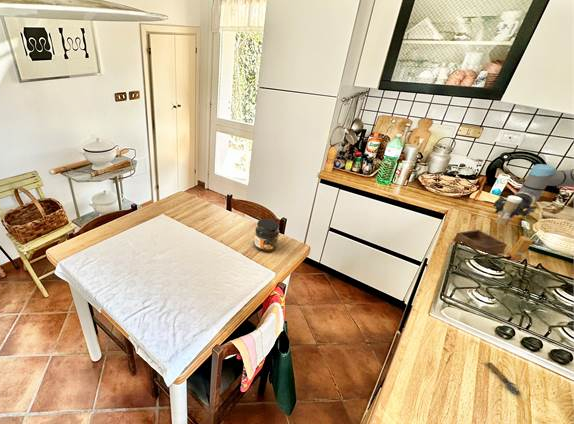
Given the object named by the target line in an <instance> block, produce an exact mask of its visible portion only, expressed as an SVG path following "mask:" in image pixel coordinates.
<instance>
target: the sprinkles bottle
mask: <svg viewBox="0 0 574 424" xmlns="http://www.w3.org/2000/svg"><path fill="white" fill-rule="evenodd" d="M506 199H507V201H506V203H505V204H504V206H503V208H502V209H501V211H500V212H498V214H497V216H496V219H495V220H494V223H495V224H496V225H500V226H505V227H506V226H508V225H509V222H510V220H511V219H512V218H509V217H510V215H511V213H512V212H513V211H514V210H516V209H517V207H518V205H519V204H520V203H521V201H522V198H520V197H517V196H513V195H508V196H507V197H506Z"/></svg>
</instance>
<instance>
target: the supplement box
mask: <svg viewBox="0 0 574 424" xmlns="http://www.w3.org/2000/svg"><path fill="white" fill-rule="evenodd" d="M533 242H534V241H533V240H532V238H530V237H529V236H523V235H521V236H520V237H519V239H518V240H517V241H516V243H515V244H514V245H513V247H512V249H511V250H510V252H509V253H508V255H509V256H510V257H511V259H514V260H515V259H516V260H522V258H523V256H524V255H525V254H526V253H527V251H528V249H529V248H530V246H531V245H532V243H533Z"/></svg>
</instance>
